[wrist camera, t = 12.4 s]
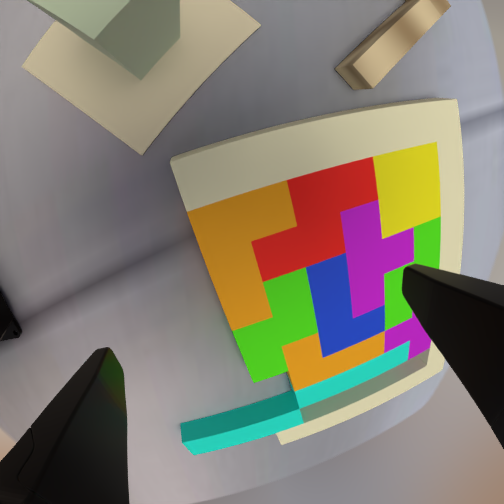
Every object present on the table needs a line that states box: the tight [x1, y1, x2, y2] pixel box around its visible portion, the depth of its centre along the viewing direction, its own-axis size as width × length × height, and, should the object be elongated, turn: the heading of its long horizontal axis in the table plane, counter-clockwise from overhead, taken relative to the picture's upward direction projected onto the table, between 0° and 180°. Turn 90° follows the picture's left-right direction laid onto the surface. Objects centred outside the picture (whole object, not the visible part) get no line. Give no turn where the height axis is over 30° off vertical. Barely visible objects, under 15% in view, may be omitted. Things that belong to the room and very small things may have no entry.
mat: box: [22, 0, 261, 155], centre depth 14 cm, size 11×11×1 cm
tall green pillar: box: [27, 0, 180, 80], centre depth 10 cm, size 4×5×10 cm
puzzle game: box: [170, 98, 464, 455], centre depth 25 cm, size 30×3×30 cm
